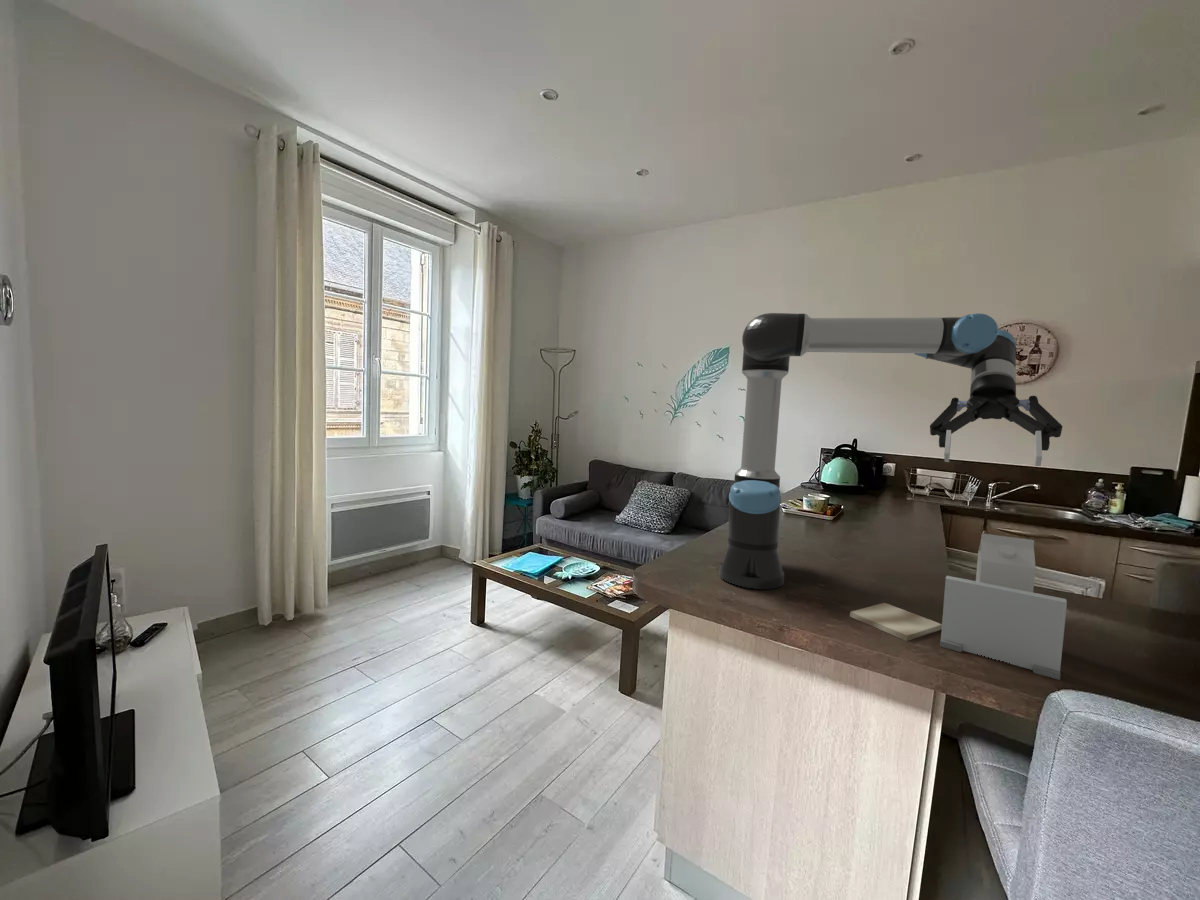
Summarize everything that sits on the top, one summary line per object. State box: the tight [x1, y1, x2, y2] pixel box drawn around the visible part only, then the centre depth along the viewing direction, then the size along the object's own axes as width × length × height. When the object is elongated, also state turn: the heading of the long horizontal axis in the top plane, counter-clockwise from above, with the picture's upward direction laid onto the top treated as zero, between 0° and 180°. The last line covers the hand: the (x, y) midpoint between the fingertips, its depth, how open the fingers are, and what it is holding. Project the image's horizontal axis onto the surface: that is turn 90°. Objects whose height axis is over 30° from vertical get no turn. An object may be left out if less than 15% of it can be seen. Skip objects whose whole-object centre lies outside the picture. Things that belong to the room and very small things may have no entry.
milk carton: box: [975, 533, 1036, 593], centre depth 83 cm, size 7×7×19 cm
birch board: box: [849, 602, 942, 642], centre depth 90 cm, size 11×11×1 cm
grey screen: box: [939, 575, 1068, 681], centre depth 77 cm, size 15×4×12 cm, turn 48°
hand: (990, 459), depth 90 cm, fingers open, 13 cm apart
